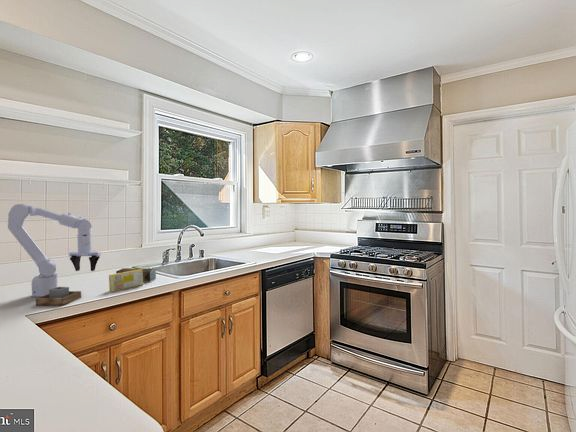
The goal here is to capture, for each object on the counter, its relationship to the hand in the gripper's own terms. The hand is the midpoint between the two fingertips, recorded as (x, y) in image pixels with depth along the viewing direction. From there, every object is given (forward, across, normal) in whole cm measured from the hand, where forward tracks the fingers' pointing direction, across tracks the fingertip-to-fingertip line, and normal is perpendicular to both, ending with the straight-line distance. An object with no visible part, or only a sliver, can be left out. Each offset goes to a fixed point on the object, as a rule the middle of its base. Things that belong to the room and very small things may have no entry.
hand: (85, 270), depth 161 cm
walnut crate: (+9, -1, +20) cm, 22 cm away
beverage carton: (+10, -16, -20) cm, 27 cm away
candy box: (+10, -19, -3) cm, 22 cm away
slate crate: (+9, -1, +20) cm, 22 cm away
